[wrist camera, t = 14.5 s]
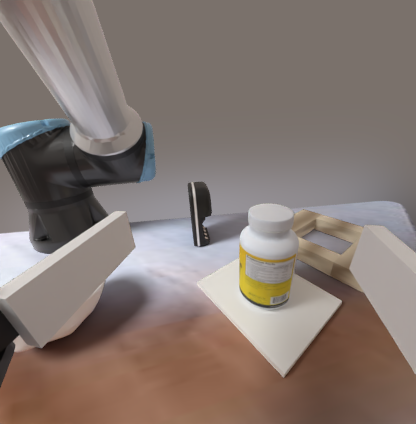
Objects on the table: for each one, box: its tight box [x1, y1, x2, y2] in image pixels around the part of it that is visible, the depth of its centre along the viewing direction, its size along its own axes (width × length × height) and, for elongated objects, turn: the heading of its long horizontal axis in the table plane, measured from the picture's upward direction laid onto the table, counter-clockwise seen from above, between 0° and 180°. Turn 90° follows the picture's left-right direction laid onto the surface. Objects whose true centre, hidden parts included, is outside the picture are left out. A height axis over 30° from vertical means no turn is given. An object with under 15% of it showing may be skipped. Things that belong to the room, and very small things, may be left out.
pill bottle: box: [239, 204, 299, 310], centre depth 23 cm, size 6×6×12 cm
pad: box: [197, 258, 342, 378], centre depth 25 cm, size 14×12×1 cm
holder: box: [291, 209, 398, 293], centre depth 34 cm, size 16×14×2 cm
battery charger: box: [188, 182, 212, 246], centre depth 37 cm, size 7×4×11 cm, turn 7°
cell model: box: [13, 281, 105, 352], centre depth 22 cm, size 10×12×7 cm
